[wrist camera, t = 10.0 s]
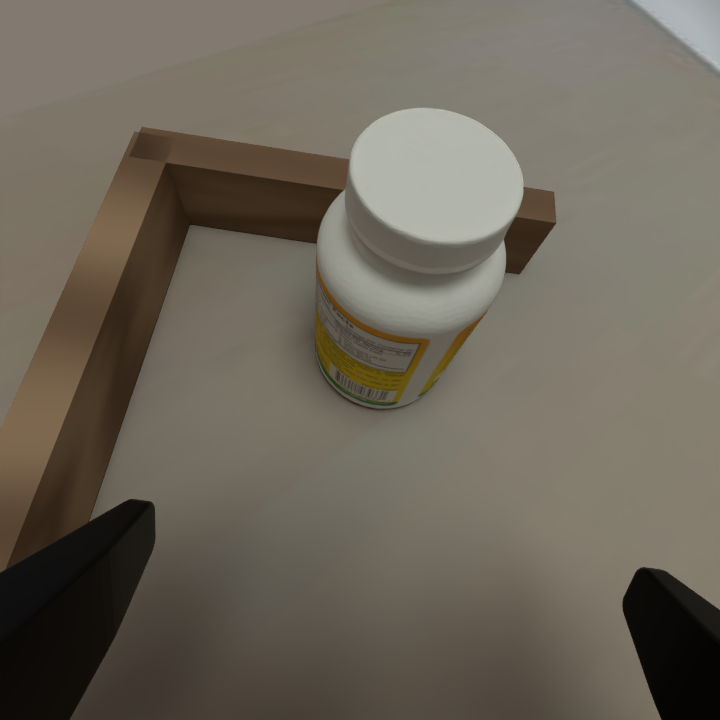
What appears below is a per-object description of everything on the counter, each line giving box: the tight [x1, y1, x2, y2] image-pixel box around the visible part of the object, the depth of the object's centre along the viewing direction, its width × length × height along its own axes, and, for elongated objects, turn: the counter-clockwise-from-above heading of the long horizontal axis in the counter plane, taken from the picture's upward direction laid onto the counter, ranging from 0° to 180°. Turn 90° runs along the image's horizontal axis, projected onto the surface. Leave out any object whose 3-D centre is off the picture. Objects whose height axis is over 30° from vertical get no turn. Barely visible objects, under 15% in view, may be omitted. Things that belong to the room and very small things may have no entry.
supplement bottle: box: [315, 108, 523, 409], centre depth 14 cm, size 5×5×10 cm
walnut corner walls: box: [0, 127, 556, 572], centre depth 16 cm, size 16×17×4 cm
